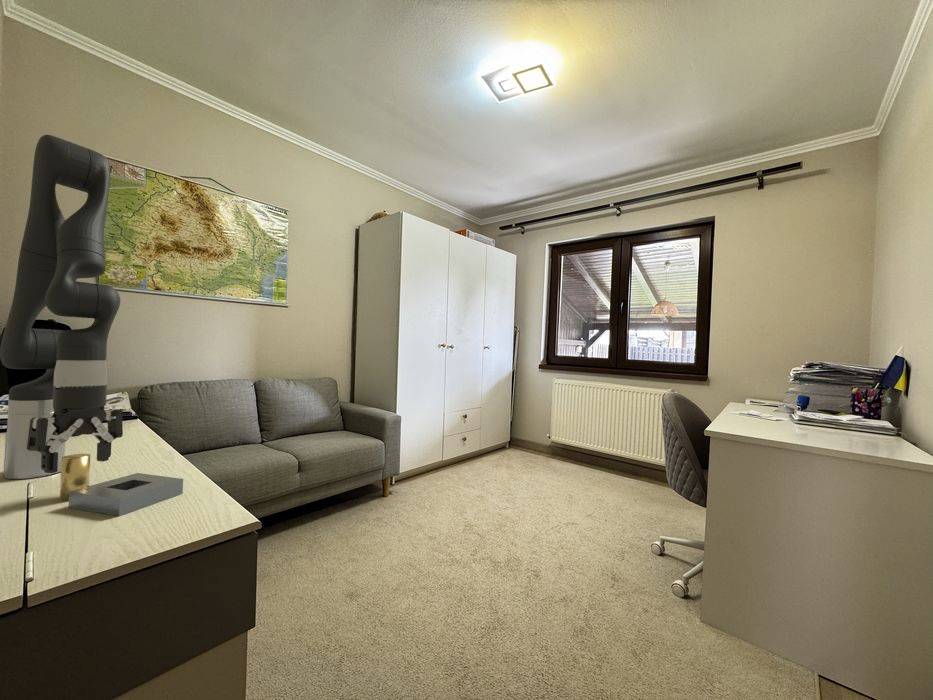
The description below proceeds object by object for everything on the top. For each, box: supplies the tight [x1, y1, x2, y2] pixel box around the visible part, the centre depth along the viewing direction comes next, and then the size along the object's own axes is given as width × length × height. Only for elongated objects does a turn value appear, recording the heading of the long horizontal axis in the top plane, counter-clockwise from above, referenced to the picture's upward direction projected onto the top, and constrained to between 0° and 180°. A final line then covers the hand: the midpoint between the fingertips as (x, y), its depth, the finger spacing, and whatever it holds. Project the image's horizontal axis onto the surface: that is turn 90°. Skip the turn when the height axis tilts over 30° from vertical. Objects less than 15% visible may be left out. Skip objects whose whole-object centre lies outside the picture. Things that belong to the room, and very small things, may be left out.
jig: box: [68, 472, 184, 517], centre depth 76 cm, size 12×12×3 cm
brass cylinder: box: [59, 453, 91, 502], centre depth 77 cm, size 4×4×8 cm
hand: (77, 466), depth 77 cm, fingers open, 8 cm apart
